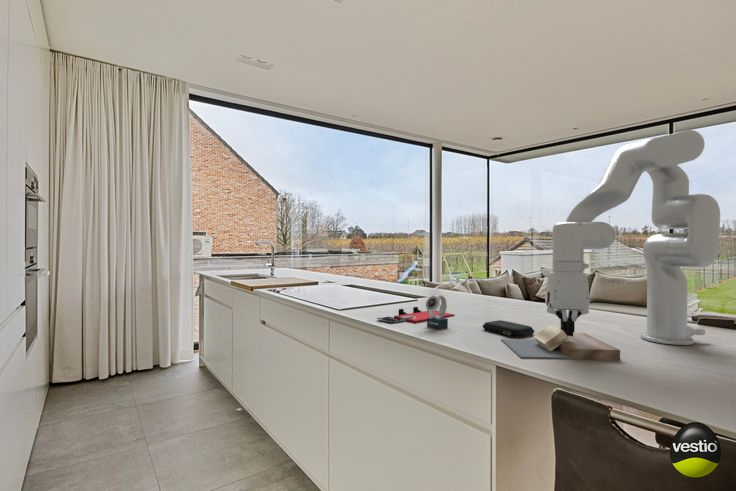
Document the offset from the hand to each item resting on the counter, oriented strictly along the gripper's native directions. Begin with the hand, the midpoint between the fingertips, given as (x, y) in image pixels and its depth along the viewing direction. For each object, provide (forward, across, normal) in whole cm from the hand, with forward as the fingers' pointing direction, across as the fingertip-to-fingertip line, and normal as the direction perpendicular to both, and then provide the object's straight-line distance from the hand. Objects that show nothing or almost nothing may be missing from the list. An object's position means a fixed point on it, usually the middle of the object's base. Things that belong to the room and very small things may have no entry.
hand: (567, 335), depth 106 cm
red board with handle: (+5, +39, -43) cm, 58 cm away
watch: (+4, +32, -26) cm, 42 cm away
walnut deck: (+4, -3, 0) cm, 5 cm away
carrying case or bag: (+5, +11, -20) cm, 23 cm away
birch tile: (+2, +4, 0) cm, 4 cm away
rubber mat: (+4, +9, 0) cm, 10 cm away
